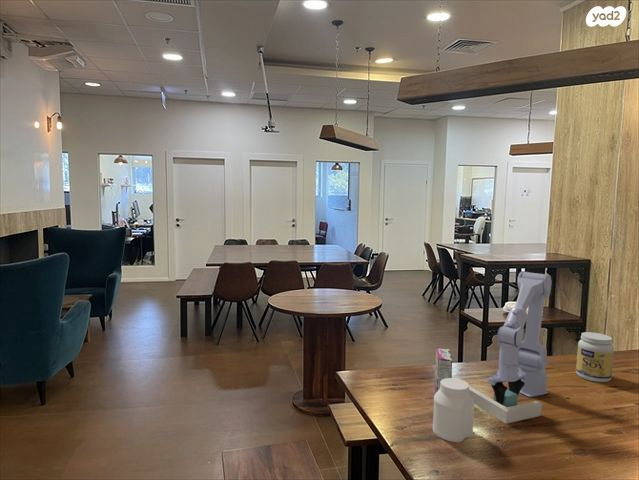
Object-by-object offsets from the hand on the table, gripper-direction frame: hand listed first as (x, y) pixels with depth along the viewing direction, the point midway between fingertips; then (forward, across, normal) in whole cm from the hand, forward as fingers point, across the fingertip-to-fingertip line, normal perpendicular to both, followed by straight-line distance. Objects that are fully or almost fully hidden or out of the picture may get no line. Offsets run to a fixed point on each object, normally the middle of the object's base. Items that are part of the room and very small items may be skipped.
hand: (506, 402), depth 144 cm
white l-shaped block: (+3, -1, -3) cm, 4 cm away
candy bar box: (+3, +15, -14) cm, 21 cm away
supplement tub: (+3, -55, -9) cm, 56 cm away
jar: (+3, +26, +5) cm, 27 cm away
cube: (+2, 0, 0) cm, 2 cm away
